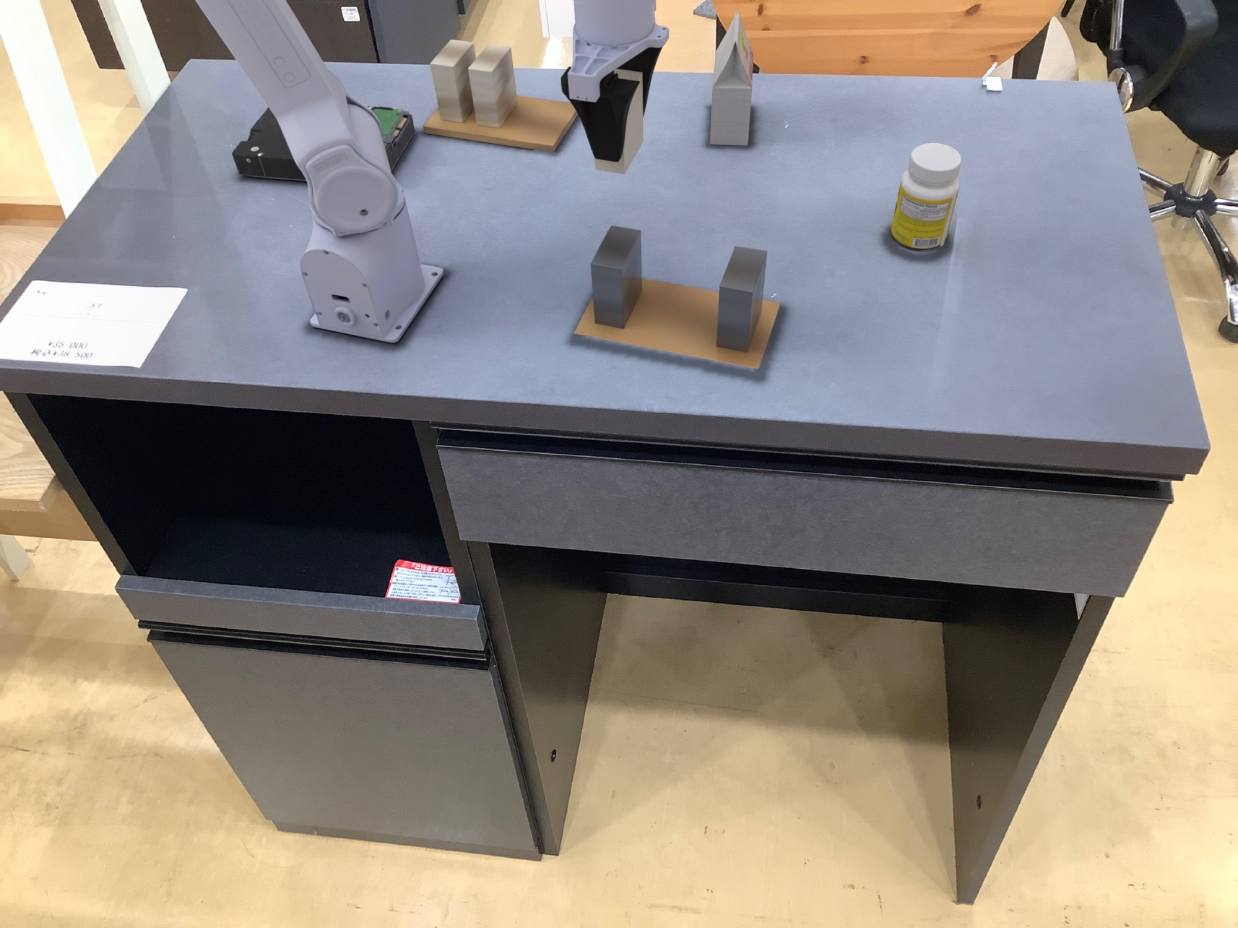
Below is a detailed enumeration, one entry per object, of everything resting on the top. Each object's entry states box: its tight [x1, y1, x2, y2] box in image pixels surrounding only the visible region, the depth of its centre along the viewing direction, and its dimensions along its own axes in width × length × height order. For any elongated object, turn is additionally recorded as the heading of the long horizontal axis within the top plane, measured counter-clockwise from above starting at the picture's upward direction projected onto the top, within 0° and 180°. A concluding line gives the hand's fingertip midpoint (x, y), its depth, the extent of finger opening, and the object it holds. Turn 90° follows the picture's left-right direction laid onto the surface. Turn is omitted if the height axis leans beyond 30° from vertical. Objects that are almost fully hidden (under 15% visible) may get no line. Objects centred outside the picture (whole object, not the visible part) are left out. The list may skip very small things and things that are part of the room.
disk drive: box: [231, 105, 416, 182], centre depth 97 cm, size 10×3×15 cm
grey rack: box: [573, 224, 781, 370], centre depth 77 cm, size 8×15×7 cm, turn 72°
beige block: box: [594, 69, 644, 175], centre depth 78 cm, size 5×2×6 cm, turn 162°
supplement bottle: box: [890, 142, 962, 252], centre depth 82 cm, size 5×5×8 cm
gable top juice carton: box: [709, 11, 754, 146], centre depth 95 cm, size 4×7×10 cm, turn 174°
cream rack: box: [422, 39, 579, 153], centre depth 98 cm, size 8×14×7 cm, turn 72°
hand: (618, 140), depth 79 cm, fingers closed on beige block, 5 cm apart
